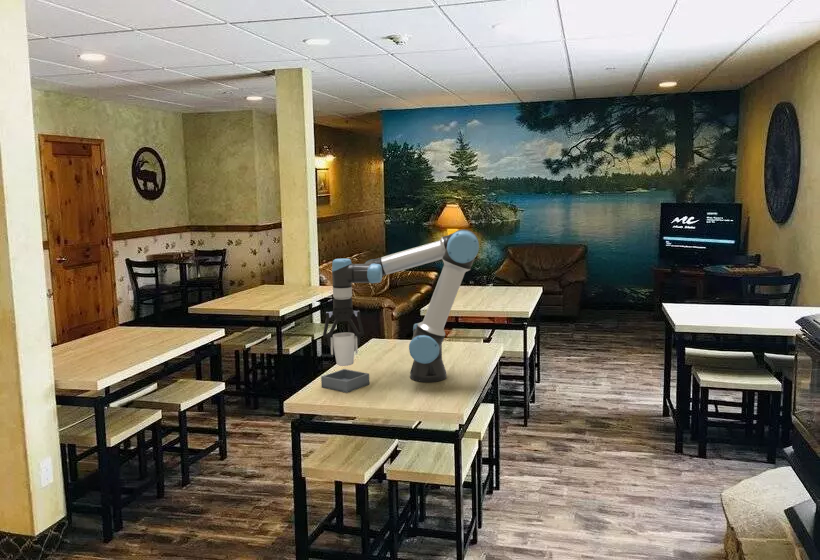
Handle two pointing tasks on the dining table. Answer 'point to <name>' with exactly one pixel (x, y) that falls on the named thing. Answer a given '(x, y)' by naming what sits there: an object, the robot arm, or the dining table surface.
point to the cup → (344, 348)
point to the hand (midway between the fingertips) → (344, 353)
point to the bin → (345, 380)
